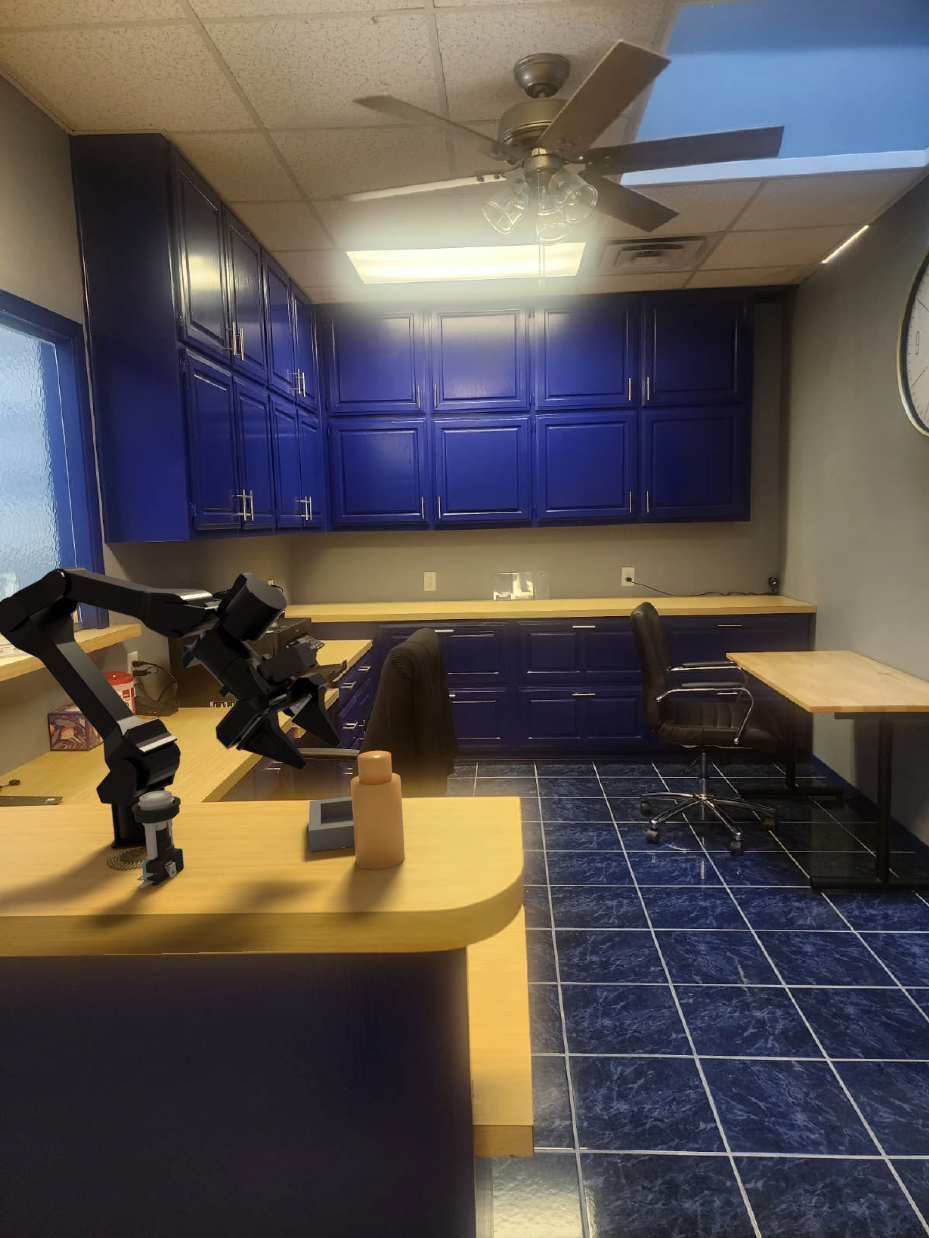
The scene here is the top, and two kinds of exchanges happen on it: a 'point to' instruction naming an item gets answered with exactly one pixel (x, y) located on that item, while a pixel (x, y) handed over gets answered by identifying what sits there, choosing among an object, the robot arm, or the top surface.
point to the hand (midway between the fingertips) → (322, 755)
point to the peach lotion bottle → (377, 812)
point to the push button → (159, 836)
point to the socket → (331, 824)
